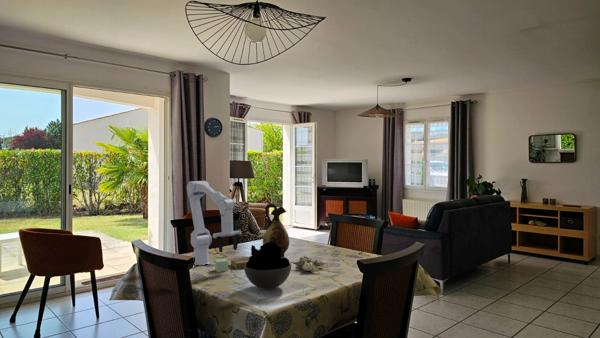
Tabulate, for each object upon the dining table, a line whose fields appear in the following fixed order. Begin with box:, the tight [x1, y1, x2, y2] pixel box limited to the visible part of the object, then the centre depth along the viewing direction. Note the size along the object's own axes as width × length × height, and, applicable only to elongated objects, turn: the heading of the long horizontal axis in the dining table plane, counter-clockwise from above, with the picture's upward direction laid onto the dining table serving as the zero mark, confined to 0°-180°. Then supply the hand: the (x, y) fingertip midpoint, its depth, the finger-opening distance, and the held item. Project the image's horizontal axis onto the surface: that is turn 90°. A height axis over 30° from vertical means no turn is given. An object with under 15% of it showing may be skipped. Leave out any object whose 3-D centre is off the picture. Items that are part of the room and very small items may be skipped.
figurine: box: [289, 255, 329, 273], centre depth 200 cm, size 20×6×17 cm
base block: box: [230, 256, 250, 270], centre depth 210 cm, size 11×11×3 cm
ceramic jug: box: [262, 203, 290, 258], centre depth 233 cm, size 17×15×30 cm
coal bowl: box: [243, 242, 292, 290], centre depth 171 cm, size 20×20×19 cm
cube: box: [214, 258, 229, 273], centre depth 201 cm, size 5×5×5 cm
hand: (228, 250), depth 200 cm, fingers open, 7 cm apart
